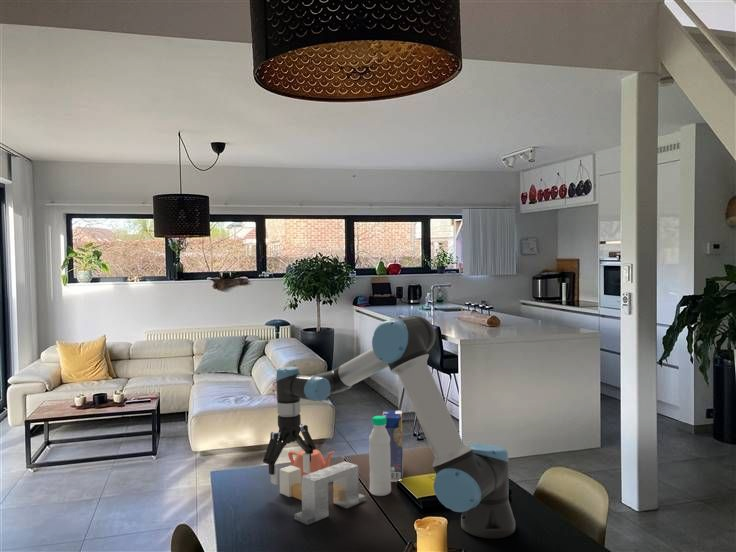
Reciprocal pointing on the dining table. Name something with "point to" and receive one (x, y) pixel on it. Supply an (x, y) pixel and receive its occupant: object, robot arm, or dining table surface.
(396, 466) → the beverage box
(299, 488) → the mallet
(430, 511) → the dining table surface
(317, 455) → the teapot
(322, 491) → the white arch block
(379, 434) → the water bottle
